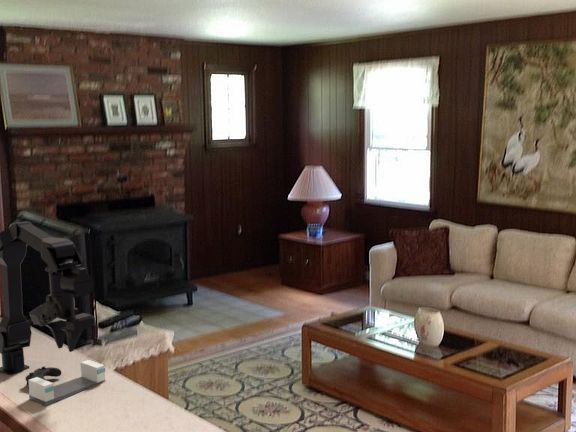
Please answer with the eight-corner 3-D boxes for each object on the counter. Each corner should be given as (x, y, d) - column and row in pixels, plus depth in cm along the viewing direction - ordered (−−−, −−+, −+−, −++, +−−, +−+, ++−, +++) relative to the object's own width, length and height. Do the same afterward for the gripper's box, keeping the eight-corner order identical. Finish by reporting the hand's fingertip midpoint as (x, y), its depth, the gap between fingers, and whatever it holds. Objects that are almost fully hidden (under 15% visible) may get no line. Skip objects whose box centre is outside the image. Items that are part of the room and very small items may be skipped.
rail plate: (29, 398, 176) (29, 395, 176) (89, 377, 190) (89, 373, 190) (45, 405, 172) (45, 401, 171) (105, 383, 186) (105, 379, 185)
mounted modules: (29, 395, 176) (28, 379, 175) (88, 373, 190) (88, 359, 189) (46, 402, 171) (45, 386, 171) (105, 379, 185) (105, 365, 185)
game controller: (46, 384, 180) (28, 369, 181) (34, 399, 182) (17, 384, 182) (64, 371, 190) (47, 356, 190) (53, 385, 191) (37, 370, 191)
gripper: (12, 291, 176) (16, 351, 179) (55, 302, 165) (59, 366, 167) (51, 283, 185) (55, 339, 187) (95, 292, 174) (98, 353, 176)
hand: (65, 349), depth 179 cm, fingers open, 4 cm apart
